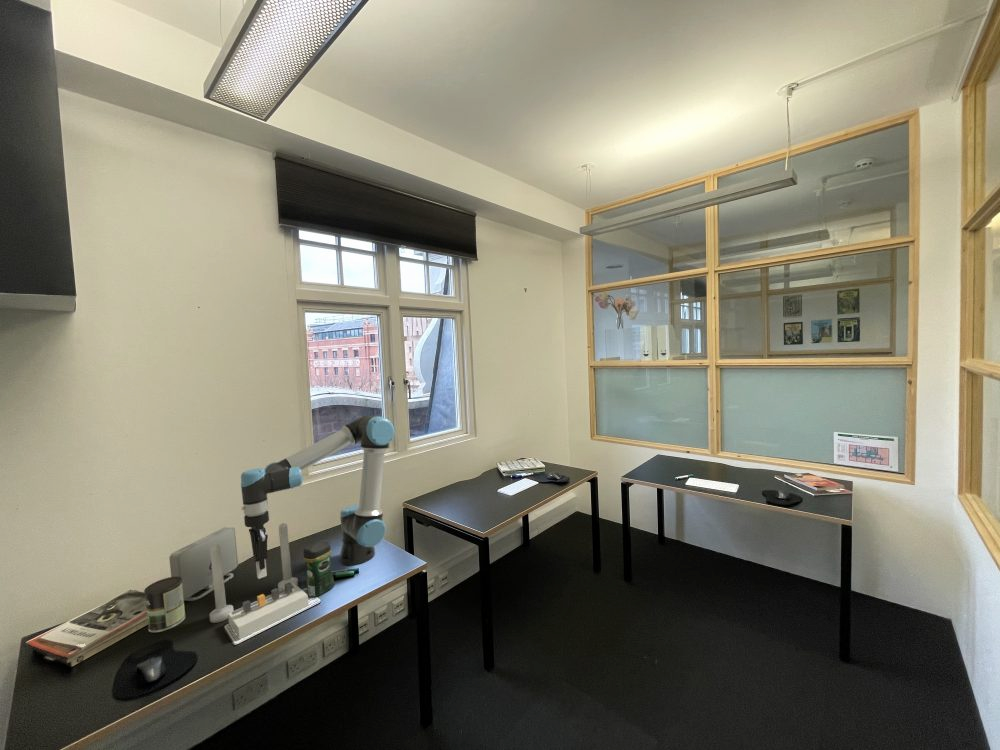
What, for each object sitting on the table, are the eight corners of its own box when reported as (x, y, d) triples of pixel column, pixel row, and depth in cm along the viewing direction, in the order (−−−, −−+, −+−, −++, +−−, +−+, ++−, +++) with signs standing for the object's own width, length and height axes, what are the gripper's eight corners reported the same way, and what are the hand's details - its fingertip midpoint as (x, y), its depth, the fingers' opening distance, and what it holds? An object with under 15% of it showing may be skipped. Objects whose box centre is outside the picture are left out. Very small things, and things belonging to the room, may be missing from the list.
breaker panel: (295, 594, 155) (294, 583, 155) (308, 605, 147) (307, 594, 146) (229, 624, 138) (227, 612, 138) (239, 639, 130) (238, 626, 130)
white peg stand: (236, 608, 148) (229, 539, 147) (230, 619, 142) (223, 547, 140) (213, 613, 146) (206, 543, 145) (207, 625, 139) (199, 551, 138)
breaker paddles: (292, 590, 149) (292, 581, 149) (295, 592, 148) (294, 582, 148) (240, 613, 137) (239, 603, 137) (242, 616, 135) (241, 606, 135)
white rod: (299, 580, 165) (293, 518, 163) (296, 589, 158) (291, 524, 157) (279, 584, 162) (274, 522, 161) (276, 594, 156) (271, 528, 154)
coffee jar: (325, 581, 163) (322, 536, 162) (337, 586, 158) (334, 540, 157) (303, 594, 154) (298, 547, 154) (315, 599, 150) (310, 551, 149)
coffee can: (146, 637, 135) (142, 596, 134) (149, 622, 143) (145, 584, 142) (185, 623, 141) (181, 584, 140) (186, 610, 149) (182, 573, 148)
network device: (187, 606, 151) (181, 555, 150) (168, 605, 153) (163, 554, 152) (243, 570, 176) (238, 526, 175) (226, 569, 178) (222, 525, 177)
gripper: (239, 512, 146) (245, 575, 147) (249, 520, 137) (256, 587, 138) (262, 505, 151) (267, 566, 152) (273, 513, 142) (279, 578, 143)
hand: (262, 576), depth 145 cm, fingers closed
